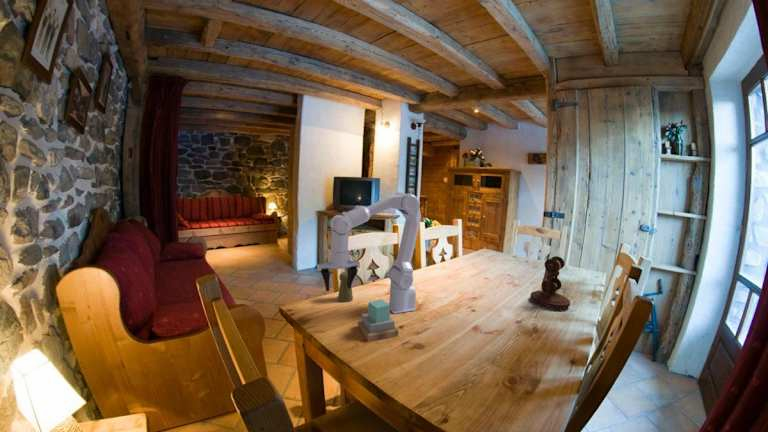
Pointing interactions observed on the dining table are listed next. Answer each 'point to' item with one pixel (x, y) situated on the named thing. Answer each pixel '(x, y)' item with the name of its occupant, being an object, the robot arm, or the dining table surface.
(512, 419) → the dining table surface
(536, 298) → the dark brown carved statue
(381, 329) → the grey block
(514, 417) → the dining table surface
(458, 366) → the dining table surface
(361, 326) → the walnut block
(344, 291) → the olive upright rounded piece
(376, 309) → the teal cube
